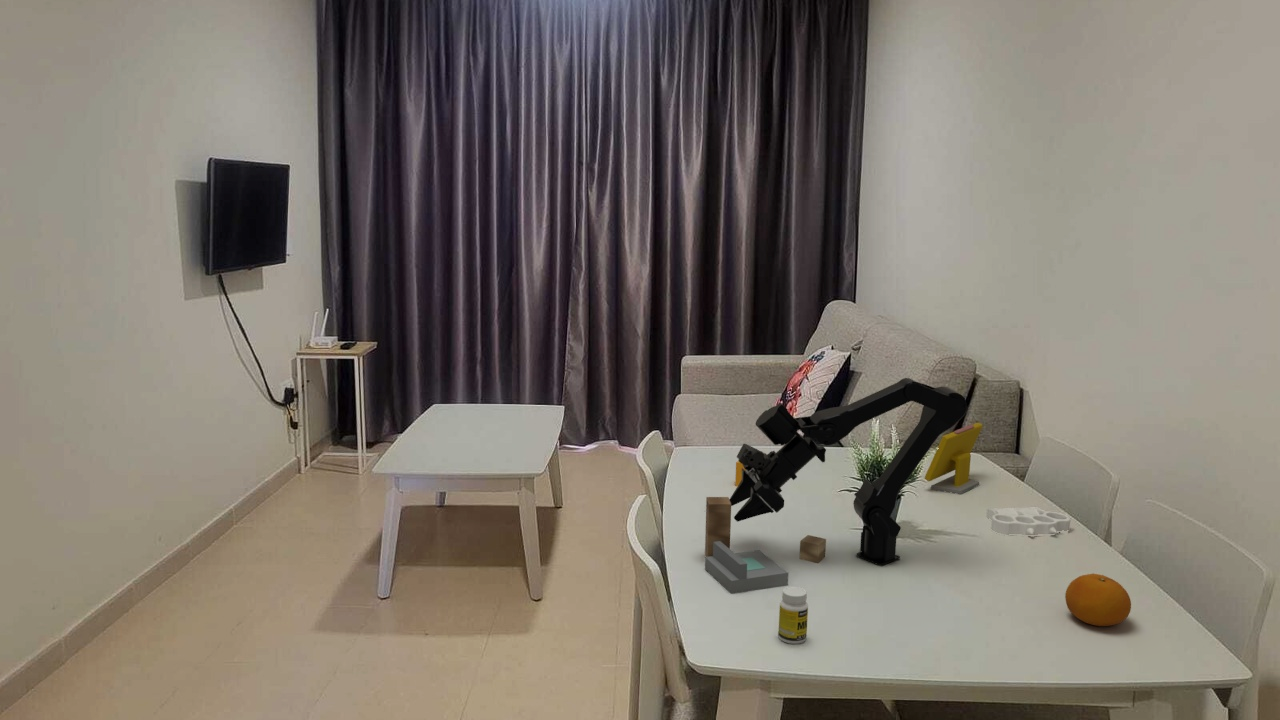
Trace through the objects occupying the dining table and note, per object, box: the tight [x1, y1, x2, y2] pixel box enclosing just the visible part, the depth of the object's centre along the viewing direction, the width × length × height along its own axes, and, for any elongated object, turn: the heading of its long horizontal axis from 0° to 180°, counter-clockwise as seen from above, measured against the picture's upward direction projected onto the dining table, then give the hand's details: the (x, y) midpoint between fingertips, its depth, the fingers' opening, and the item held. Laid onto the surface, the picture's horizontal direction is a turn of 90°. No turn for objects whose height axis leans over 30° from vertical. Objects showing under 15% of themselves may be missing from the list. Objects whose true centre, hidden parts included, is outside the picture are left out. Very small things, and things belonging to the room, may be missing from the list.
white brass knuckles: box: [986, 506, 1071, 535], centre depth 210 cm, size 3×18×15 cm
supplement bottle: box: [777, 586, 809, 645], centre depth 156 cm, size 5×5×8 cm
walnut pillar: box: [704, 496, 732, 557], centre depth 189 cm, size 4×4×12 cm
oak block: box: [799, 534, 827, 564], centre depth 191 cm, size 4×4×4 cm
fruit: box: [1064, 573, 1132, 627], centre depth 164 cm, size 10×10×8 cm
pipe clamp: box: [734, 452, 767, 488], centre depth 240 cm, size 12×4×6 cm, turn 146°
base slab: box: [704, 541, 789, 594], centre depth 181 cm, size 12×12×6 cm
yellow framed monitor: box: [924, 422, 984, 495], centre depth 238 cm, size 20×8×16 cm, turn 136°
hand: (732, 511), depth 188 cm, fingers open, 9 cm apart
